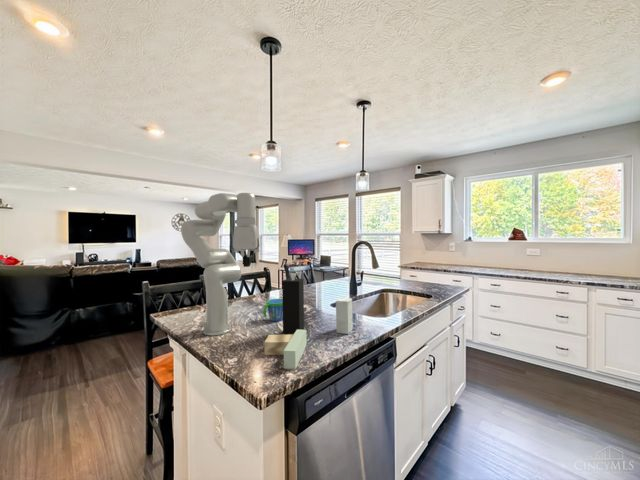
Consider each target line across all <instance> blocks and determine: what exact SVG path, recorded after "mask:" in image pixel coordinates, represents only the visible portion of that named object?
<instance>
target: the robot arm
mask: <svg viewBox="0 0 640 480" xmlns="http://www.w3.org/2000/svg"><path fill="white" fill-rule="evenodd" d="M227 212H228V213H229V212H231V213H236V219H235V220H233V224H236V225H235V226H234V229H233V238H232V248H233V252H234V253H237V254H239V255H240V256H241V258H242V266H243V267H244V268H245V267H246V268H248V267H251V264H252V256H253V255H254V254H255V253H256V254H257V253H260V235H259V229H258V226H257V225H256V196H255V194H254V193H251V192H239V193H237V194H232V193H225V192H220V193H216V194H212V195H210V197H209V198H208V200H206V201H204V202H201V203H198V204H197V205H196V206H195V208H194V214H195V215H196V217H198V218H199V219H190V220H186V221H184V222H183V223H181V227H180V233H181V236H182V240H183V241H184V243H185V244H186V245H187V247H188V248H189V249H190V250H191V251H192V253H193V255H194V257H195V258H196V261H197V262H198V264H199V266H200V267H201V268H203V269H204V271H203V280H204V281H203V282H204V286H205V301H206V303H205V304H206V305H205V307H206V309H205V310H206V313H205V314H206V315H205V316H206V317H205V318H206V321H200V322H199V325H198V327H200V328H202V327H203V330H202V334H204V335H206V336H220V335H224V334H228V333H229V332H230V331H232V326H231V325H230V324H229V314H228V312H229V308H228V307H229V306H228V305H229V303H228V302H229V301H228V299H229V298H228V291H227V290H226V288H225V287H224V285H225V284H230V283H236V282H238V281H239V280H240V279H241V277H242V270H241V267H240V265H239V264H238V262H237V261H236V258H235V257H234V256H233V254H232V252H230V251H229V250H227V249H226V248H213V247H211V246H210V244H209V242H208V241H207V240H205V238H203V237H213V236H214V237H215V236H216V235H217V234H218V232H219V230H220V228H221V226H222V224H223V223H224V221H225V219H226V216H227Z"/></svg>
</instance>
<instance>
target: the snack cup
mask: <svg viewBox="0 0 640 480" xmlns="http://www.w3.org/2000/svg"><path fill="white" fill-rule="evenodd" d="M265 303H266V304H265V305H264V307H263V312H262V315H263V316H264V317H265V318H266V317H267V316H268V318H269V320H270V321H271V322H281V321H283V298H273V299H269V300H267V301H266V302H265ZM267 313H268V315H267Z"/></svg>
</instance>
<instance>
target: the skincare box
mask: <svg viewBox="0 0 640 480" xmlns="http://www.w3.org/2000/svg"><path fill="white" fill-rule="evenodd" d="M335 316H336V318H335V319H336V320H335V323H336V324H335V325H336V334H343V335H349V334H350V333H351V331H352V330H353V329H354V324H353V323H354V322H353V318H354V317H353V298H350V297H348V298H346V297H340V298H338V299H337V300H336V301H335Z"/></svg>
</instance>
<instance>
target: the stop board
mask: <svg viewBox="0 0 640 480" xmlns="http://www.w3.org/2000/svg"><path fill="white" fill-rule="evenodd" d="M306 347H307V329H304V330H296V332H295V333H294V335H293V337H292V338H291V340H290V341H289V343H288V345H287V346H286V348H285V349H284V355H283V369H286V370H287V369H289V370H296V369H297V366H298V365H299V363H300V360H301V358H302V355H303V353H304V351H305V349H306Z"/></svg>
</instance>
